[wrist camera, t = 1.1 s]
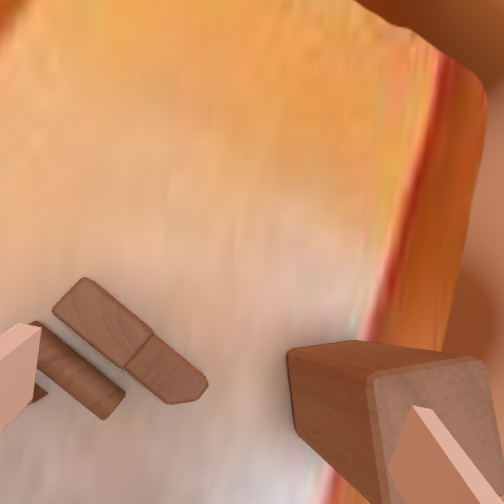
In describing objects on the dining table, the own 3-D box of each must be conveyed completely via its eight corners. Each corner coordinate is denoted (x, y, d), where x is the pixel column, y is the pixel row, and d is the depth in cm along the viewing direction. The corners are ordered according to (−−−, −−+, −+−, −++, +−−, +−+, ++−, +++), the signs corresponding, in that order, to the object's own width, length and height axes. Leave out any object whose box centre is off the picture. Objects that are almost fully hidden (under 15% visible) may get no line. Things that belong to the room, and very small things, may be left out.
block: (359, 338, 47) (490, 355, 28) (371, 421, 46) (517, 499, 27) (283, 349, 45) (370, 375, 26) (294, 436, 44) (393, 533, 24)
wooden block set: (74, 268, 37) (213, 384, 38) (86, 274, 42) (207, 375, 43) (-73, 416, 32) (90, 543, 33) (-39, 401, 37) (101, 511, 39)
